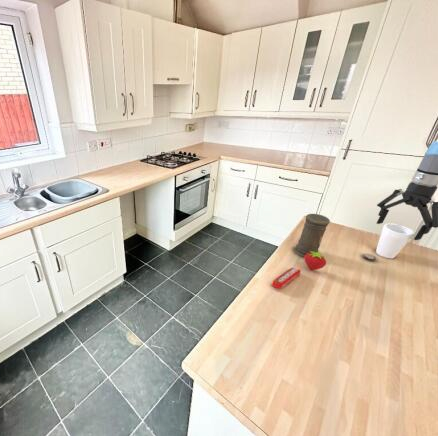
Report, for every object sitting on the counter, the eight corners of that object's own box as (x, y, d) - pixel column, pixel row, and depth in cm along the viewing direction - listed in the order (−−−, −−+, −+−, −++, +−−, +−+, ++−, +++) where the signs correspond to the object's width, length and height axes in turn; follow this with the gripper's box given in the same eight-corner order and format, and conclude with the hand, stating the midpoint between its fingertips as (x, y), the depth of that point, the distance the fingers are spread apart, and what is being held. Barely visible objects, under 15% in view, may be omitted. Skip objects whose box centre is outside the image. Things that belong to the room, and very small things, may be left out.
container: (297, 257, 107) (309, 222, 98) (292, 245, 114) (302, 212, 106) (320, 260, 105) (334, 224, 96) (313, 248, 112) (326, 214, 104)
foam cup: (389, 262, 102) (404, 236, 96) (366, 250, 110) (378, 225, 104) (404, 258, 105) (420, 232, 99) (381, 246, 113) (394, 222, 106)
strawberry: (318, 278, 95) (327, 258, 90) (298, 269, 100) (305, 249, 95) (324, 271, 98) (332, 251, 93) (304, 262, 103) (311, 243, 99)
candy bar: (291, 270, 100) (293, 264, 98) (300, 275, 97) (302, 269, 95) (269, 286, 92) (270, 280, 90) (278, 292, 89) (280, 286, 88)
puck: (377, 260, 104) (378, 258, 103) (370, 262, 103) (371, 260, 102) (367, 254, 107) (368, 252, 107) (360, 256, 106) (361, 254, 106)
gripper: (380, 174, 101) (360, 218, 111) (464, 197, 80) (429, 249, 91) (393, 172, 103) (371, 216, 113) (477, 194, 82) (441, 245, 92)
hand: (397, 230), depth 102 cm, fingers open, 13 cm apart
